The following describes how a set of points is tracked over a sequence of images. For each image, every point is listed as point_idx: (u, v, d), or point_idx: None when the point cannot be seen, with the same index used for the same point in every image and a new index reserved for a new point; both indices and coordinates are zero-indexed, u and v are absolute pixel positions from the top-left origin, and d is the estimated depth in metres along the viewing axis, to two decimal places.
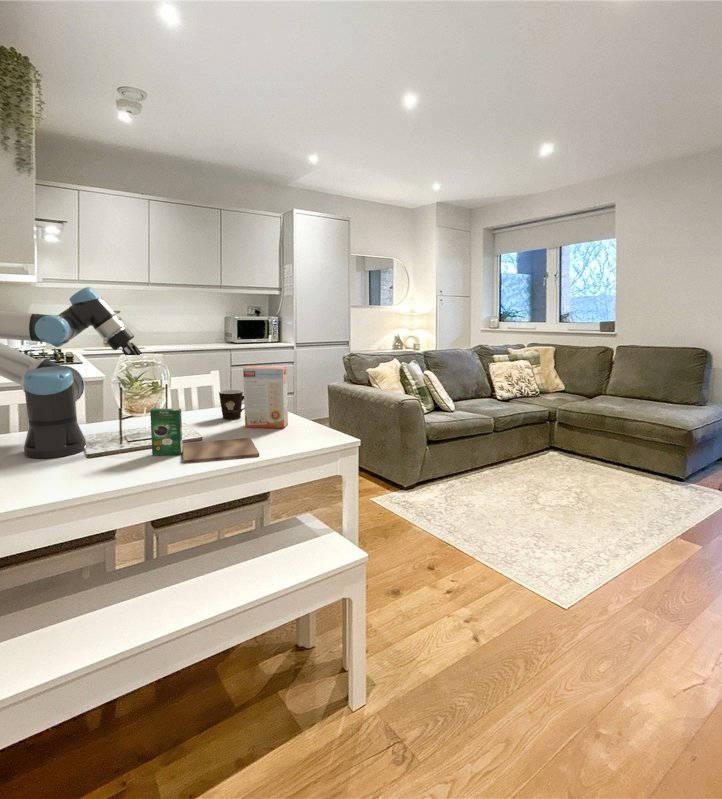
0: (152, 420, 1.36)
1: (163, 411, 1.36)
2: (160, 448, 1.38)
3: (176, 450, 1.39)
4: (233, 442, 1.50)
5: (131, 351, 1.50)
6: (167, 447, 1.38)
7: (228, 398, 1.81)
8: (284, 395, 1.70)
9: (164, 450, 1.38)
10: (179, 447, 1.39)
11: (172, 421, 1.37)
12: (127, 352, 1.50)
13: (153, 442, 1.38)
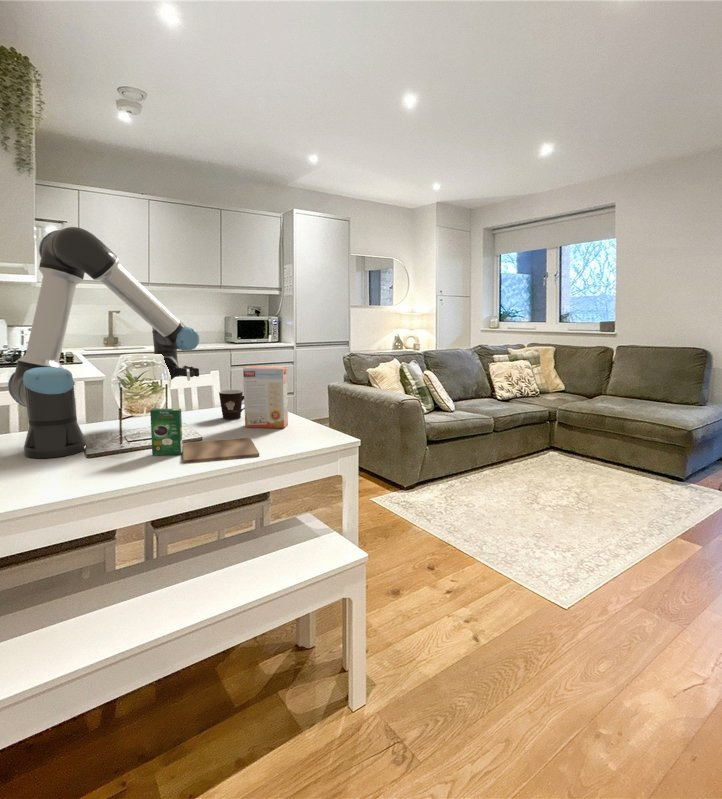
0: (152, 420, 1.36)
1: (163, 411, 1.36)
2: (160, 448, 1.38)
3: (176, 450, 1.39)
4: (233, 442, 1.50)
5: None
6: (167, 447, 1.38)
7: (228, 398, 1.81)
8: (284, 395, 1.70)
9: (164, 450, 1.38)
10: (179, 447, 1.39)
11: (172, 421, 1.37)
12: None
13: (153, 442, 1.38)
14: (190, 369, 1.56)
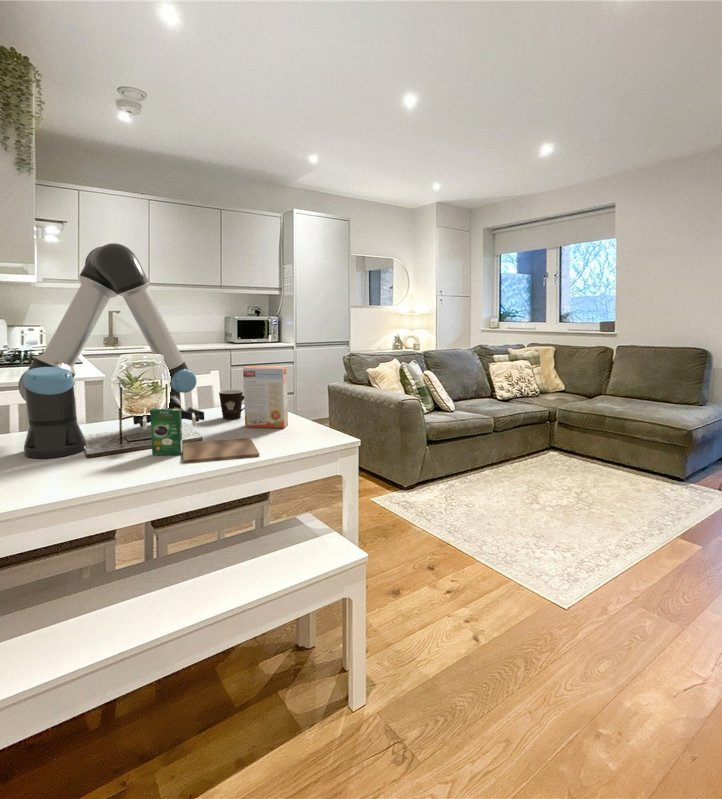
0: (152, 420, 1.36)
1: (163, 411, 1.36)
2: (160, 448, 1.38)
3: (176, 450, 1.39)
4: (233, 442, 1.50)
5: None
6: (167, 447, 1.38)
7: (228, 398, 1.81)
8: (284, 395, 1.70)
9: (164, 450, 1.38)
10: (179, 447, 1.39)
11: (172, 421, 1.37)
12: None
13: (153, 442, 1.38)
14: (195, 413, 1.54)
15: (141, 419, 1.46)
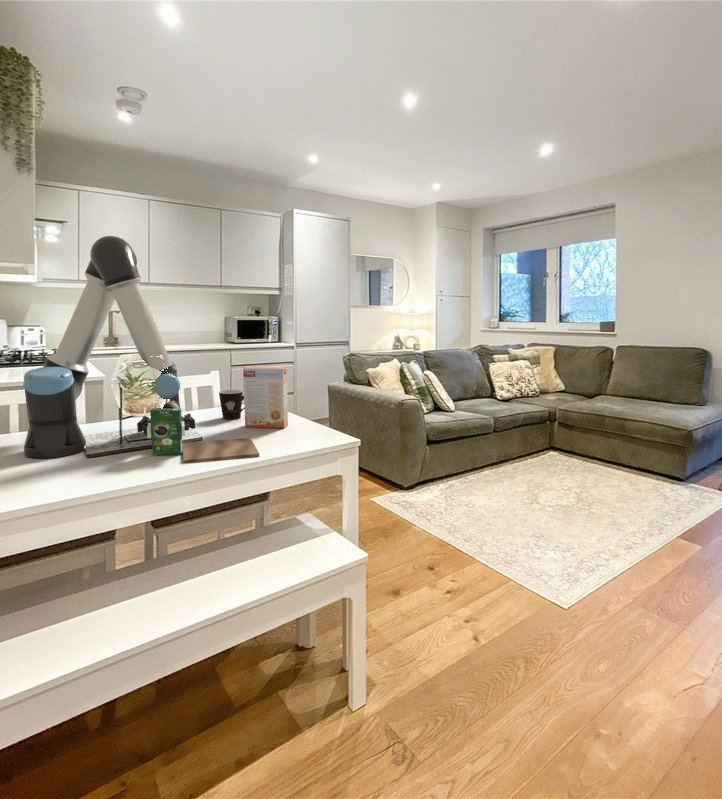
0: (152, 420, 1.36)
1: (163, 411, 1.36)
2: (160, 448, 1.38)
3: (176, 450, 1.39)
4: (233, 442, 1.50)
5: None
6: (167, 447, 1.38)
7: (228, 398, 1.81)
8: (284, 395, 1.70)
9: (164, 450, 1.38)
10: (179, 447, 1.39)
11: (172, 421, 1.37)
12: None
13: (153, 442, 1.38)
14: (185, 421, 1.42)
15: (145, 427, 1.37)
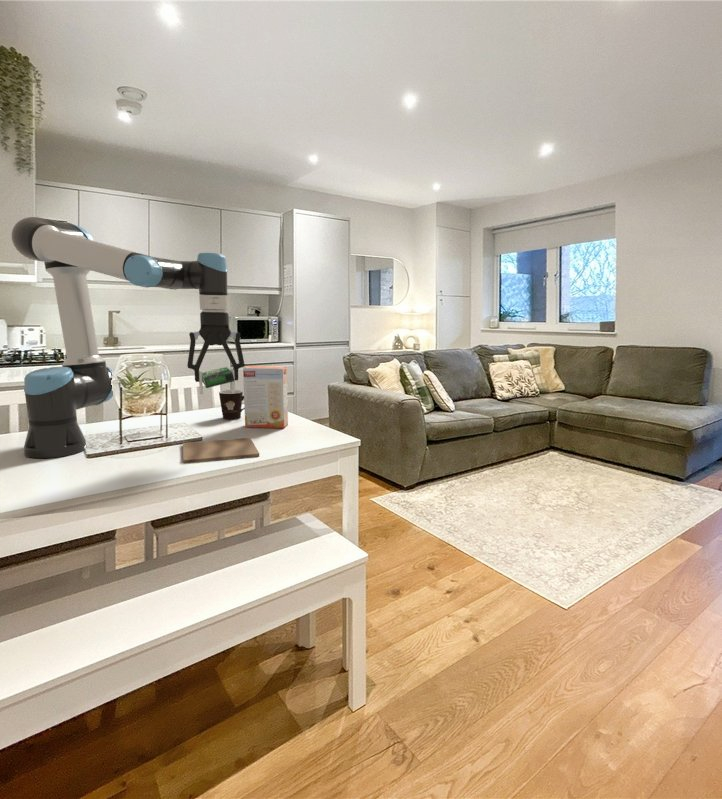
0: None
1: None
2: None
3: None
4: (233, 442, 1.50)
5: None
6: None
7: (228, 398, 1.81)
8: (284, 395, 1.70)
9: None
10: None
11: None
12: (190, 338, 1.36)
13: None
14: None
15: None
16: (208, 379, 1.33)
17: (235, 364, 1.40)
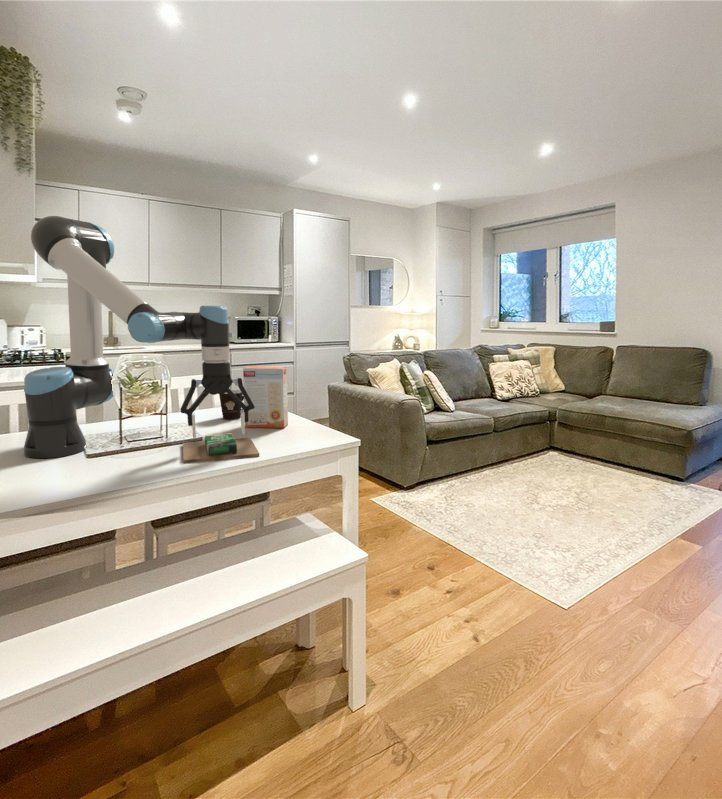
0: None
1: None
2: None
3: None
4: None
5: None
6: None
7: (228, 398, 1.81)
8: (284, 395, 1.70)
9: None
10: None
11: None
12: None
13: None
14: None
15: None
16: (212, 448, 1.36)
17: (244, 407, 1.43)
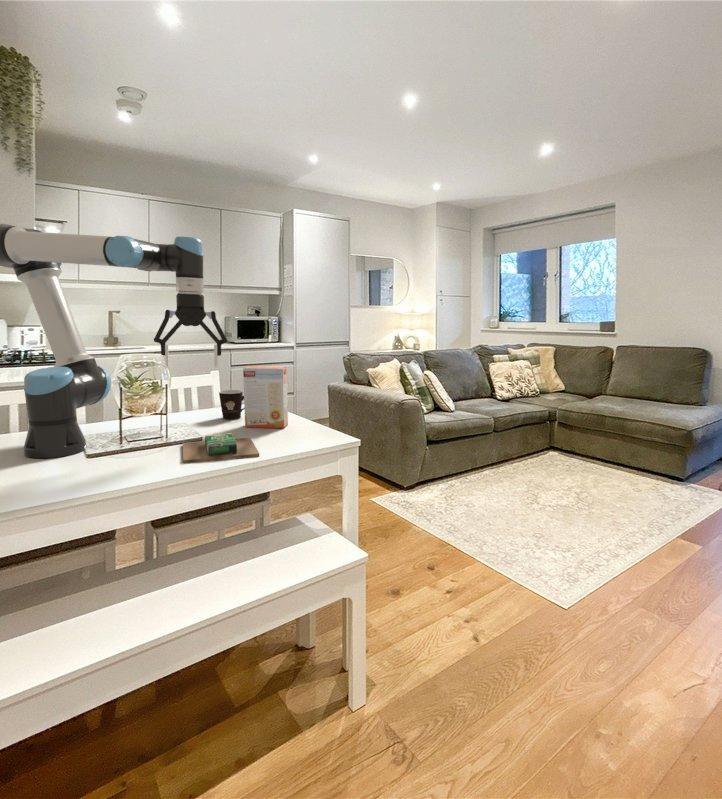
0: None
1: None
2: None
3: None
4: None
5: None
6: None
7: (228, 398, 1.81)
8: (284, 395, 1.70)
9: None
10: None
11: None
12: None
13: None
14: None
15: None
16: (212, 448, 1.36)
17: (217, 340, 1.46)
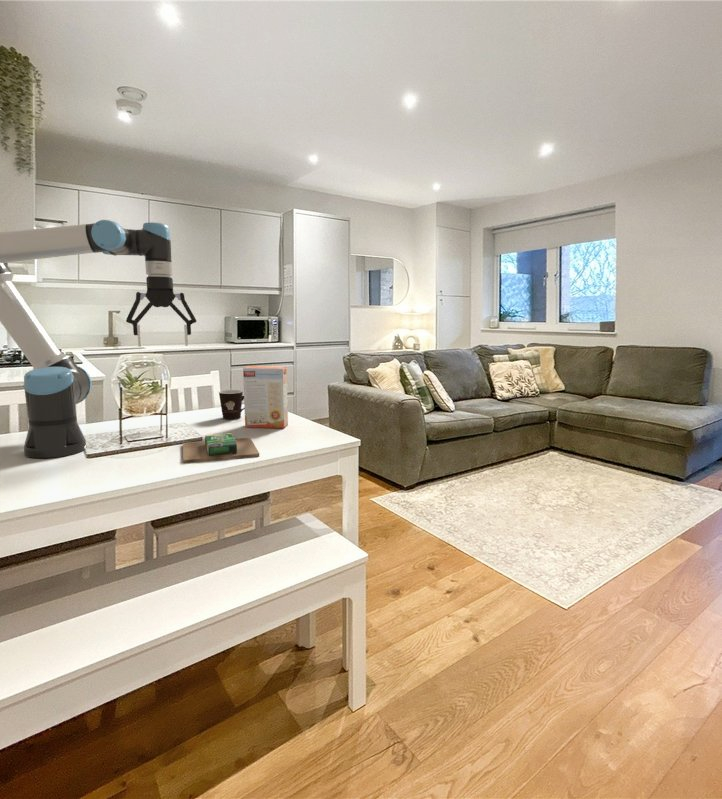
0: None
1: None
2: None
3: None
4: None
5: None
6: None
7: (228, 398, 1.81)
8: (284, 395, 1.70)
9: None
10: None
11: None
12: None
13: None
14: None
15: None
16: (212, 448, 1.36)
17: (187, 320, 1.56)
